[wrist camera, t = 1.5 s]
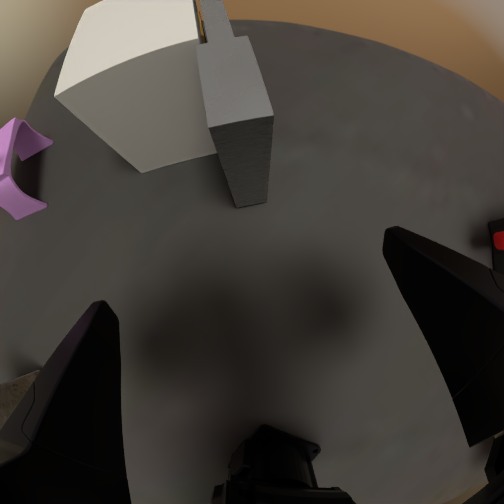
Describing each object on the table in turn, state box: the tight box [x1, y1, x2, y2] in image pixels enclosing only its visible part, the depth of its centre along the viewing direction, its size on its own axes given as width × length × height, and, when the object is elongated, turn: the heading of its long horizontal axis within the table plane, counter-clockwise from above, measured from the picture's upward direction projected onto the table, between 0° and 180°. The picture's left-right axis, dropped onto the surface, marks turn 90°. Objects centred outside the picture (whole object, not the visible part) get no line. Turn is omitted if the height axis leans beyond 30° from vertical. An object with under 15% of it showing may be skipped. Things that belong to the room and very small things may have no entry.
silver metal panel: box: [195, 0, 274, 208], centre depth 16 cm, size 15×2×12 cm, turn 12°
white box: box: [54, 0, 217, 173], centre depth 16 cm, size 11×8×13 cm
